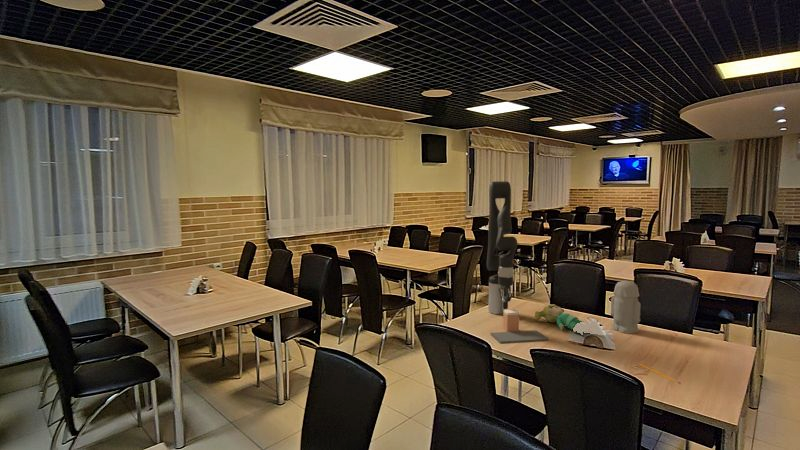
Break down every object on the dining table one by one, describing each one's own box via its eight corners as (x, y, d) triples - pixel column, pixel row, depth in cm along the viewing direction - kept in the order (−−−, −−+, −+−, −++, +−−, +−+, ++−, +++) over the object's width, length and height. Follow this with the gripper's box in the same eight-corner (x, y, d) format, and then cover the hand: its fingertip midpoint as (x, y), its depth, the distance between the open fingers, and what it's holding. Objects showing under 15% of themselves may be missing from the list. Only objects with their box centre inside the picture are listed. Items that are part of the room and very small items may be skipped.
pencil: (678, 384, 156) (678, 382, 156) (635, 363, 174) (635, 362, 174) (680, 384, 156) (680, 382, 156) (637, 363, 174) (637, 361, 174)
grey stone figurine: (604, 327, 218) (606, 279, 215) (615, 324, 223) (617, 277, 221) (633, 336, 206) (636, 285, 203) (644, 331, 211) (647, 282, 209)
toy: (578, 326, 202) (532, 301, 227) (575, 345, 204) (529, 318, 229) (601, 321, 209) (554, 297, 235) (598, 339, 212) (551, 314, 237)
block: (503, 329, 215) (503, 310, 214) (514, 328, 216) (514, 309, 215) (507, 332, 210) (507, 313, 209) (518, 332, 211) (519, 312, 210)
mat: (490, 334, 208) (490, 332, 208) (536, 331, 211) (536, 330, 211) (499, 343, 196) (499, 341, 196) (548, 340, 200) (548, 338, 200)
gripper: (494, 273, 224) (493, 305, 225) (503, 278, 211) (503, 312, 212) (507, 272, 225) (506, 305, 226) (518, 277, 212) (517, 311, 213)
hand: (505, 308), depth 219 cm, fingers closed
